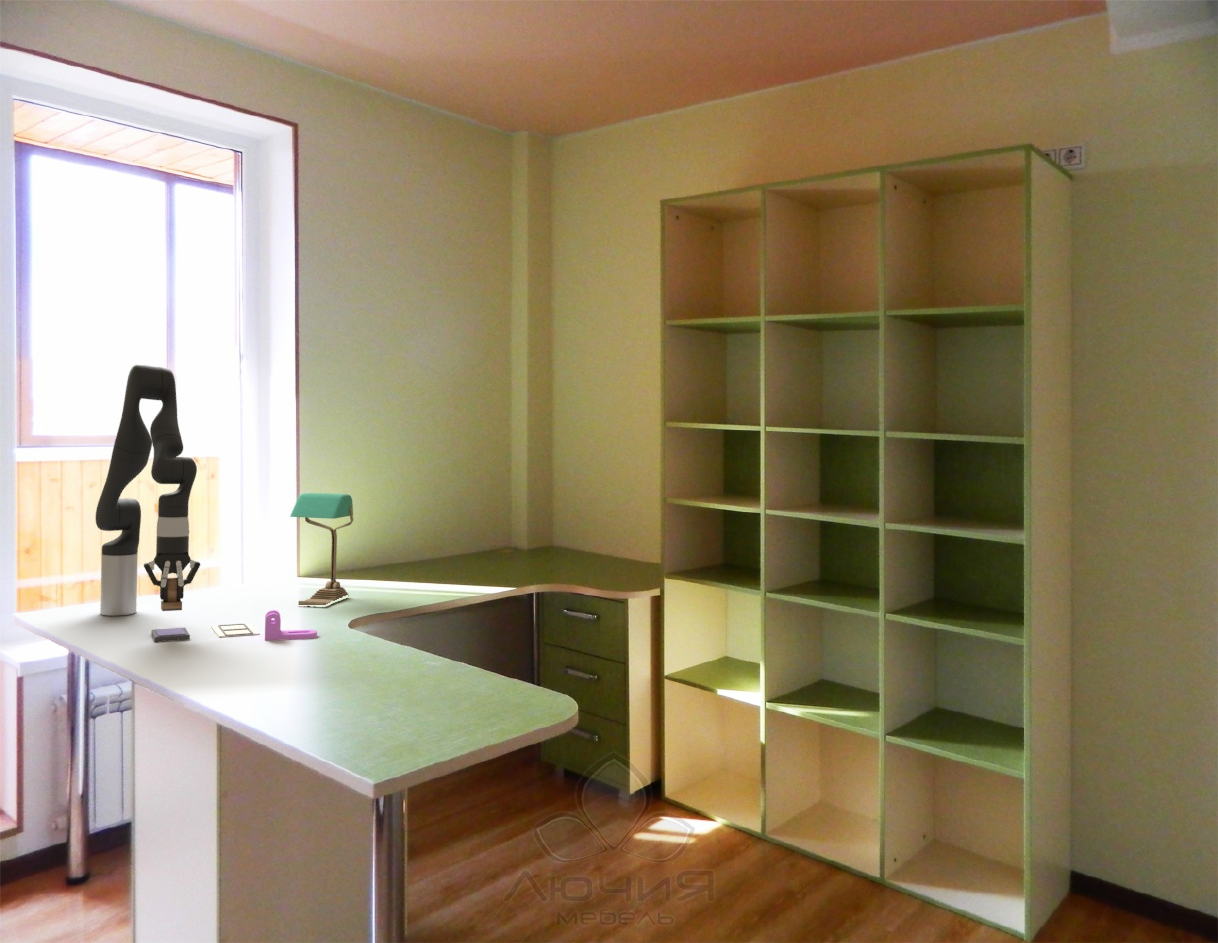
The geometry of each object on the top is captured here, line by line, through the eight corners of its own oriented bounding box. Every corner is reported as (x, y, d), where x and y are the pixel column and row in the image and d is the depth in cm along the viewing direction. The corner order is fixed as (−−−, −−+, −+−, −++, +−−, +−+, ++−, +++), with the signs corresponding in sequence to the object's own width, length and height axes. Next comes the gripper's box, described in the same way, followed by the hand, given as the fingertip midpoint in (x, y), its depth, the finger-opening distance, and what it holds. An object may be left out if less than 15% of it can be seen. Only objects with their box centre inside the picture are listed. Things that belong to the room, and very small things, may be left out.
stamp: (161, 608, 237) (161, 577, 237) (180, 607, 239) (180, 576, 239) (162, 611, 233) (163, 579, 233) (181, 610, 236) (182, 579, 235)
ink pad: (151, 634, 239) (151, 628, 239) (185, 632, 243) (185, 626, 243) (154, 641, 230) (155, 636, 230) (189, 639, 234) (189, 634, 234)
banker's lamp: (359, 598, 303) (362, 493, 303) (334, 609, 283) (337, 496, 282) (313, 596, 305) (316, 491, 304) (285, 606, 284) (288, 494, 283)
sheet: (211, 627, 250) (211, 625, 250) (250, 624, 255) (250, 623, 255) (219, 637, 238) (219, 635, 238) (259, 634, 243) (259, 632, 243)
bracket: (264, 640, 237) (265, 614, 236) (264, 636, 242) (265, 610, 242) (317, 638, 241) (318, 612, 241) (316, 634, 246) (317, 608, 246)
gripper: (200, 532, 243) (199, 597, 243) (141, 533, 236) (140, 600, 236) (204, 535, 236) (202, 601, 237) (143, 536, 229) (142, 604, 230)
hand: (171, 600), depth 236 cm, fingers closed on stamp, 2 cm apart
